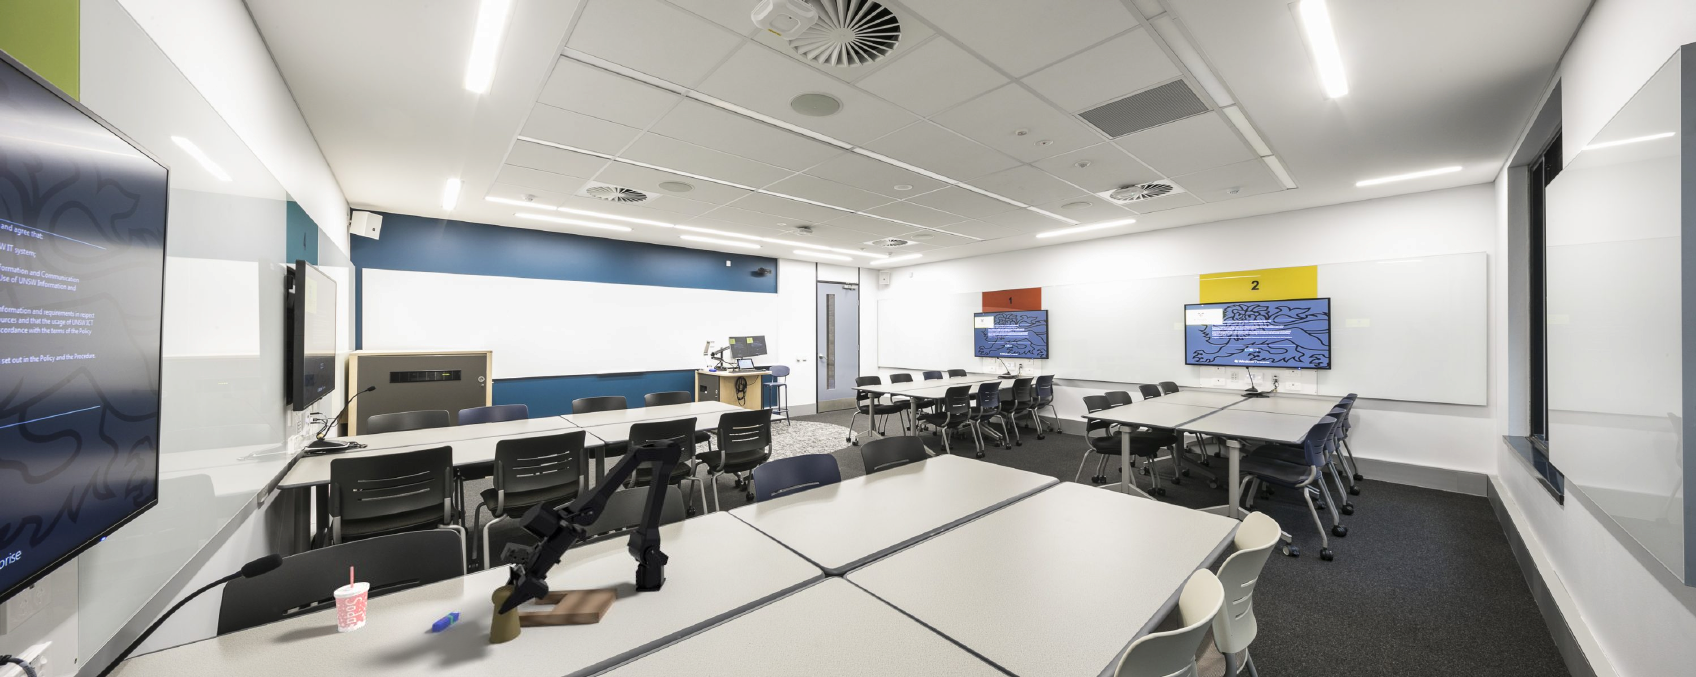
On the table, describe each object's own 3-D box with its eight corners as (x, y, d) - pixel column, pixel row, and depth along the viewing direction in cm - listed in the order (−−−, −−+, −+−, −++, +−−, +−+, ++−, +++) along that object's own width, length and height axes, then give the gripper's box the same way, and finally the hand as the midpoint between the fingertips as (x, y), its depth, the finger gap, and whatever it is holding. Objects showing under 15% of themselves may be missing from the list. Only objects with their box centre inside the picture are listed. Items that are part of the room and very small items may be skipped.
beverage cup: (329, 636, 119) (329, 574, 119) (339, 623, 124) (339, 564, 124) (364, 629, 122) (364, 569, 121) (373, 616, 127) (373, 559, 127)
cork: (527, 631, 121) (527, 583, 121) (502, 645, 115) (502, 595, 115) (508, 626, 123) (508, 579, 123) (482, 640, 117) (482, 591, 117)
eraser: (461, 618, 127) (461, 610, 127) (439, 632, 121) (439, 624, 121) (453, 618, 127) (453, 610, 127) (431, 632, 121) (431, 623, 121)
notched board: (616, 597, 137) (616, 588, 137) (598, 622, 125) (598, 612, 125) (538, 600, 135) (538, 591, 135) (512, 626, 123) (512, 615, 123)
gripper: (519, 518, 129) (464, 576, 122) (531, 541, 114) (469, 608, 107) (556, 542, 134) (504, 599, 127) (571, 567, 119) (514, 633, 112)
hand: (498, 608), depth 118 cm, fingers closed on cork, 5 cm apart
